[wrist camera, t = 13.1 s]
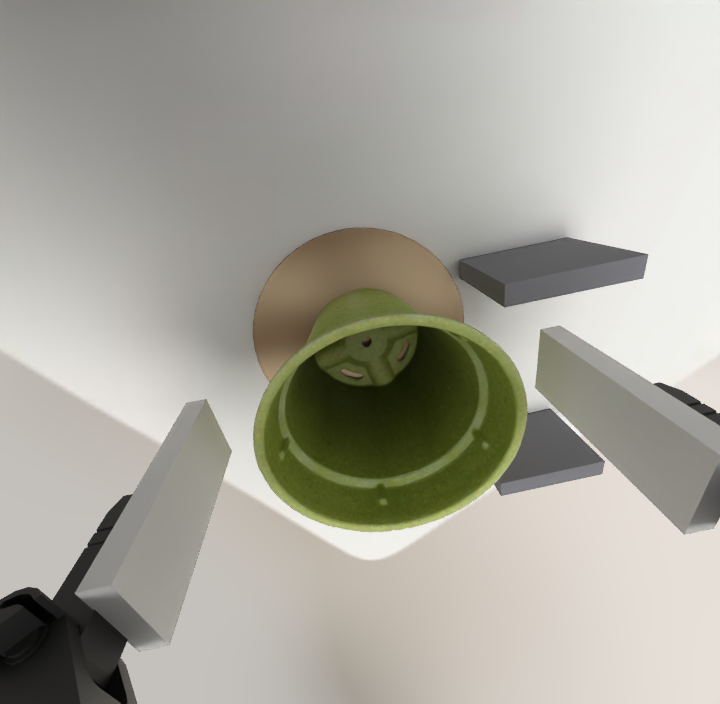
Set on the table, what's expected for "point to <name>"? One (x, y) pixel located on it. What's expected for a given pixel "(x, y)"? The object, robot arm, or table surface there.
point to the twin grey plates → (536, 282)
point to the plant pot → (388, 417)
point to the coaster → (346, 287)
